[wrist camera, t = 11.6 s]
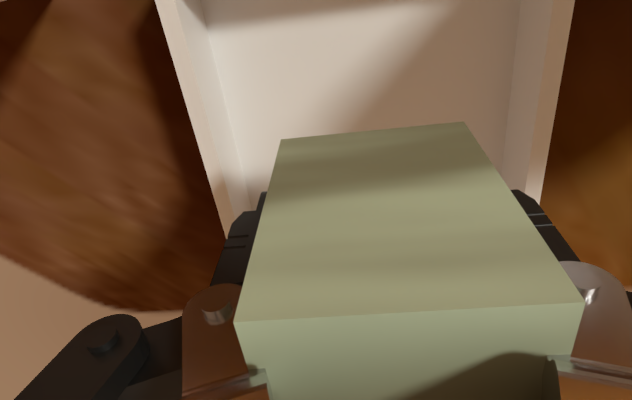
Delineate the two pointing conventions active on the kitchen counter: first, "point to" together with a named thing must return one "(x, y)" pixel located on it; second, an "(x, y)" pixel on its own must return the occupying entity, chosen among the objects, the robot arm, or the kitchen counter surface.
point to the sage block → (400, 274)
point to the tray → (364, 78)
